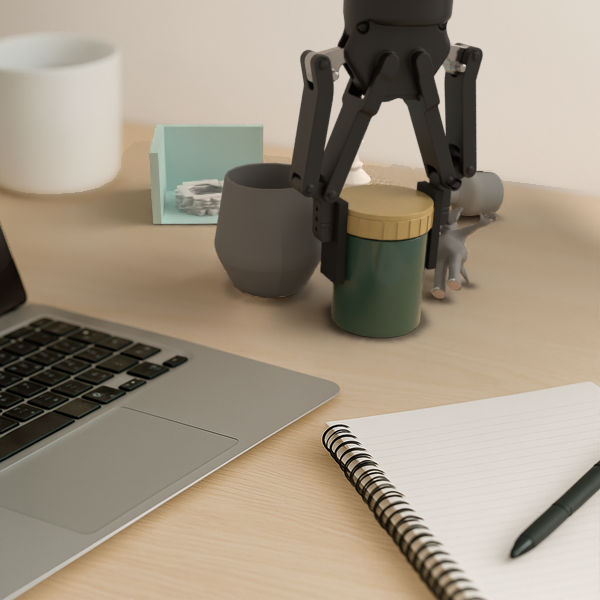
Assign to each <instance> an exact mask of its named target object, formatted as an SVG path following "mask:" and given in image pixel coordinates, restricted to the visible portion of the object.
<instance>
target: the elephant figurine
mask: <svg viewBox="0 0 600 600" xmlns="http://www.w3.org/2000/svg"><path fill="white" fill-rule="evenodd" d="M462 211H463V208H462V207H461V208H456V209H455V210H452V211H449V218H448V221H447V223H446V225H441V226H440V235H439V244H438V254H437V263H436V269H434V275H433V283H432V289H431V290H430V293H431V294H432V296H433V297H434V298H435V299H438V300H445V299H446V296H447V287H448V288H449V289H450V290H452V291H461V290H462V278H463V279H464V281H465V283H466V284H467V285H470V281H469V277H468V273H467V271H466V268H465V263H466V262H467V259H468V250H467V247H466V245H465V243H466V239H467V238H468V237H469V236H470V235H472V234H473V233H474V232H476V231H478V230H479V229H481V228H484V227H486V226H488V225H490V224H491V223H493V222H495V221H497V219H498V215H497V214H496V212H495V213H493V212H491V213H490V214H485V215H482V213H479V214H480V215H479V221H478V222H475V223H473V224H469V225H466V226H463V227H460V228H458V220H459V218H460V216H461V215H460V213H461V212H462ZM447 273H448V274H447ZM447 275H448V277H447Z"/></svg>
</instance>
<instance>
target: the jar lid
mask: <svg viewBox="0 0 600 600" xmlns="http://www.w3.org/2000/svg"><path fill="white" fill-rule="evenodd" d="M339 197H341V198H342V199H344V200H345V201H347V202H348V203H349V205H348V224H347V233H349V234H352V235H355V236H359V237H363V238H369V239H377V240H402V239H409V238H414V237H418V236H420V235H423V234H425V233H427V232H428V231H429V230H430V228H432V223H433V213H434V207H433V205H434V202H433V200H432V198H431V197H430V196H428V195H427V194H425V193H423V192H421V191H418V190H416V189H414V188H411V187H408V186H407V187H406V186H402V185H396V184H395V185H394V184H386V183H385V184H383V183H370V184H367V185H358V186H352V187H348V188H345V189H342V191H341V193H340V196H339Z"/></svg>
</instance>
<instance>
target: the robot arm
mask: <svg viewBox="0 0 600 600" xmlns="http://www.w3.org/2000/svg"><path fill="white" fill-rule="evenodd" d="M342 1H343V3H342V14H343V23H344V25H343V26H344V27H343V31H342V34H341V37H340V38H339V40H338V42H337V46H335V47H330V48H327V49H324V50H320V51H314V50H312V49H305V50H303V51H302V53H301V54H300V57H299V62H300V68H301V69H300V70H301V76H302V82H303V88H302V94H301V100H300V106H299V112H298V119H297V125H296V132H295V136H294V137H295V138H294V144H293V150H292V157H291V162H290V164H291V169H290V175H289V184H290V185H291V186H292V187H293V188H294V189H296V190H297V191H298V192H300V193H301V194H303V195H304V196H305V197H312V198H313V219H312V223H313V224H312V232H313V234H314V237H316V238H317V239H318V240H319V241H321V261H320V268H319V269H320V270H319V272H320V273H321V274H322V275H323V276H324V277H325V278H326V279H328V280H329V281H330V282H331V283H332V285H333V284H335V285H341V284H344V280H345V262H346V243H347V224H348V205H349V203H348V202H347V201H345V200H344V199H342V198H341V197H339V196H340V193H341V191H342V189H343V186H344V184H345V181H346V179H347V176H348V174H349V172H350V169H351V167H352V164H353V162H354V159H355V157H356V154H357V152H358V153H359V149H360V147H361V144H362V143H361V142H362V140H364V137H365V135H366V133H367V130H368V128H369V125H370V123H371V121H372V118H373V117H375V116H377V114H379V113H378V112H379V111H380V108H381V106H382V103H388V102H392V101H394V100H397V99H400V100H402V101H403V103H404V104H405V105H406V107H407V111H408V113H409V118H410V121H411V124H412V128H413V131H414V135H415V139H416V142H417V147H418V149H419V153H420V156H421V160H422V164H423V167H424V168H423V169H424V171H425V175H426V178H427V179H428V181H426V180H421V181H420V180H419V181H416V189H415V190H418V191H421V192H423V193H425V194H427V195H428V196H430V197H431V198H432V200H433V202H434V205H433V207H434V213H433V223H432V228H430V230H429V232H428V242H427V252H426V262H425V270H427V271H430V270H435V269H436V263H437V254H438V244H439V235H440V234H441V233H440V226H441V225H446V223H447V221H448V218H449V213H450V207H451V205H450V199H451V191H457V190H458V189H460V187H461V185H462V180H460V179H462V178H464V177H467V178H471V177H473V176H474V175H475V173H476V170H478V165H477V164H478V163H477V162H478V160H477V159H478V157H477V156H478V155H477V154H478V153H477V151H478V150H477V149H478V148H477V147H478V146H477V144H478V143H477V139H478V138H477V79H478V75H479V71H480V68H481V64H482V61H483V56H484V53H483V50H482V49H481V48H480V47H477V46H473V45H469V44H466V43H461V42H456V43H451V40H450V38H449V34H448V29H447V26H448V22H449V21H450V20H451V18H452V15H453V9H454V8H453V6H454V0H342ZM342 66H343V68H344V70H345V71H346V73H347V75H348V77H349V78H348V81H347V83H346V86H345V88H344V91H343V93H342V97H341V104H342V105H341V108H340V109H339V113H338V115H337V118H336V121H335V123H334V126H333V128H332V130H331V133H330V135H329V138H328V140H327V136H328V131H329V125H330V119H331V114H332V107H333V102H334V95H335V84H334V83H335V82H336V81H338V79H339V78H340V71H339V70H340V68H341V67H342ZM441 67H443V69H444V82H443V85H444V124H443V121H442V116H441V113H440V109H439V105H440V104H441V99H440V95H439V91H438V87H437V83H436V78H435V76H436V74H437V73H438V72H439V70H440V68H441ZM444 125H445V128H444Z"/></svg>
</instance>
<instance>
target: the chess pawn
mask: <svg viewBox="0 0 600 600" xmlns="http://www.w3.org/2000/svg"><path fill="white" fill-rule="evenodd" d="M364 142H365V141H364V139H363V140H362V142H361V144H363V143H364ZM363 166H364V163H363V162H362V161H361V160H360V158H359V151H358V152H357V154H356V157H355V159H354V162H353V164H352V167H351V169H350V172H349V174H348V176H347V179H346V181H345V184H344V186H343V189H345V188H348V187H352V186H358V185H367V184H371V181H372V179H371V177H370V175H369V174H368V173H367V172H366V171H365V170H364V169H363Z"/></svg>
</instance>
